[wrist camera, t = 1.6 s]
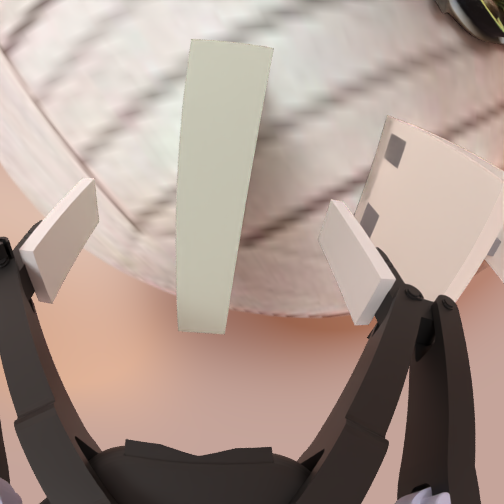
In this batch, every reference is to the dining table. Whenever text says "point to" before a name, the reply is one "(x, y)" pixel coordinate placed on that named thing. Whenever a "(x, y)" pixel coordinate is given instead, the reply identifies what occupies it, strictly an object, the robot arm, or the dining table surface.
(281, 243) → the dining table surface
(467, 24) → the salad plate
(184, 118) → the door panel
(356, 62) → the dining table surface
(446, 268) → the cabinet base
